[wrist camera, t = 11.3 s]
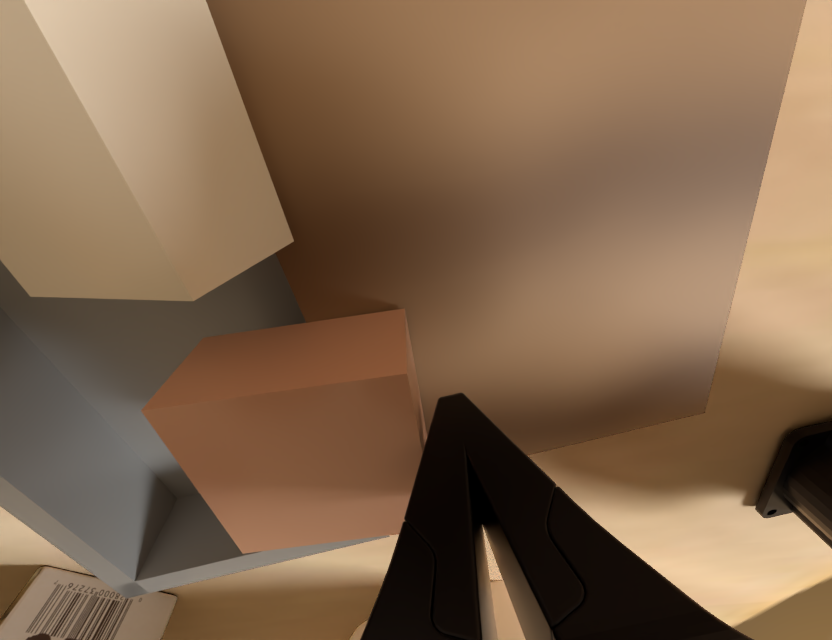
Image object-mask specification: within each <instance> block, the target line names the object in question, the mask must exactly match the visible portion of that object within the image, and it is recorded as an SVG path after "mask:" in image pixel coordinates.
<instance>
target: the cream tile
mask: <svg viewBox="0 0 832 640" xmlns="http://www.w3.org/2000/svg"><path fill="white" fill-rule="evenodd" d="M292 242H294V240H293V237H292V234H291V231H290V229H289V226H288V223H287V221H286V218H285V215H284V212H283V210H282V207H281V204H280V201H279V199H278V196H277V193H276V191H275V188H274V185H273V182H272V180H271V177H270V174H269V171H268V169H267V166H266V163H265V161H264V158H263V155H262V152H261V150H260V147H259V144H258V141H257V139H256V136H255V133H254V131H253V128H252V125H251V122H250V120H249V117H248V114H247V111H246V109H245V106H244V103H243V100H242V98H241V95H240V92H239V90H238V87H237V84H236V81H235V79H234V76H233V73H232V70H231V68H230V65H229V62H228V60H227V57H226V54H225V51H224V49H223V46H222V43H221V40H220V38H219V35H218V32H217V30H216V27H215V24H214V21H213V19H212V16H211V13H210V10H209V8H208V5H207V2H206V0H0V260H1V261H2V263H3V264H4V265H5V266H6V267H7V269H8V270H9V271H10V272H11V274H12V275H13V276H14V277H15V278H16V280H17V281H18V282H19V283H20V285H21V286H22V287H23V288H24V289H25V291H26V292H27V293H28V294H29V296H30V297H61V298H96V299H131V300H166V301H195V300H196V299H198V298H200V297H201V296H203V295H205V294H206V293H208V292H210V291H211V290H213V289H215V288H216V287H218V286H220V285H221V284H223V283H225V282H226V281H228V280H230V279H231V278H233V277H235V276H237V275H238V274H240V273H242V272H243V271H245V270H247V269H248V268H250V267H252V266H253V265H255V264H257V263H258V262H260V261H262V260H263V259H265V258H267V257H268V256H270V255H272V254H274V253H275V252H277V251H279V250H280V249H282V248H284V247H285V246H287V245H289V244H290V243H292Z"/></svg>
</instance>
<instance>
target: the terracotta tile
mask: <svg viewBox="0 0 832 640" xmlns="http://www.w3.org/2000/svg"><path fill="white" fill-rule="evenodd" d="M141 412H142V413H143V414H144V416H145V417H146V419H147V420H148V421H149V423H150V424H151V426H152V427H153V428H154V430H155V431H156V433H157V434H158V435H159V437H160V438H161V440H162V441H163V442H164V444H165V445H166V447H167V448H168V449H169V451H170V452H171V454H172V455H173V456H174V458H175V459H176V461H177V462H178V463H179V465H180V466H181V468H182V469H183V471H184V472H185V473H186V475H187V476H188V478H189V479H190V480H191V482H192V483H193V485H194V486H195V487H196V489H197V490H198V492H199V493H200V494H201V496H202V497H203V499H204V500H205V501H206V503H207V504H208V506H209V507H210V508H211V510H212V511H213V513H214V514H215V515H216V517H217V518H218V520H219V521H220V522H221V524H222V525H223V527H224V528H225V529H226V531H227V532H228V534H229V535H230V536H231V538H232V539H233V541H234V542H235V544H236V545H237V546H238V548H239V549H240V551H241V552H242V553H243V554H244V553H252V552H260V551H268V550H276V549H284V548H292V547H300V546H308V545H316V544H323V543H331V542H339V541H347V540H355V539H363V538H371V537H379V536H387V535H395V534H399V533H400V530H401V526H402V523H403V522H404V521H405V520H404V516H405V513H406V509H407V506H408V502H409V499H410V495H411V492H412V488H413V485H414V481H415V478H416V474H417V471H418V467H419V464H420V460H421V457H422V453H423V450H424V446H425V443H426V439H427V432H426V426H425V421H424V415H423V409H422V404H421V398H420V392H419V387H418V381H417V376H416V370H415V364H414V359H413V353H412V347H411V342H410V336H409V330H408V325H407V319H406V313H405V308H404V309H398V310H391V311H384V312H377V313H370V314H363V315H356V316H349V317H342V318H336V319H329V320H322V321H315V322H309V323H301V324H294V325H287V326H280V327H273V328H267V329H260V330H253V331H246V332H239V333H232V334H225V335H218V336H211V337H205V338H203V339H202V340H201V341H200V342H199V343H198V344H197V346H196V347H195V348H194V349H193V350H192V351H191V353H190V354H189V355H188V356H187V357H186V358H185V360H184V361H183V362H182V363H181V364H180V365H179V367H178V368H177V369H176V370H175V371H174V372H173V374H172V375H171V376H170V377H169V378H168V379H167V381H166V382H165V383H164V384H163V385H162V386H161V388H160V389H159V390H158V391H157V392H156V393H155V395H154V396H153V397H152V398H151V399H150V400H149V402H148V403H147V404H146V405H145V406H144V407H143V409H142V410H141Z"/></svg>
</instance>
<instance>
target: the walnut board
mask: <svg viewBox="0 0 832 640" xmlns="http://www.w3.org/2000/svg"><path fill="white" fill-rule="evenodd" d="M806 1H807V0H206V2H207V5H208V8H209V10H210V13H211V16H212V19H213V21H214V24H215V27H216V30H217V32H218V35H219V38H220V40H221V43H222V46H223V49H224V51H225V54H226V57H227V60H228V62H229V65H230V68H231V70H232V73H233V76H234V79H235V81H236V84H237V87H238V90H239V92H240V95H241V98H242V100H243V103H244V106H245V109H246V111H247V114H248V117H249V120H250V122H251V125H252V128H253V131H254V133H255V136H256V139H257V141H258V144H259V147H260V150H261V152H262V155H263V158H264V161H265V163H266V166H267V169H268V171H269V174H270V177H271V180H272V182H273V185H274V188H275V191H276V193H277V196H278V199H279V201H280V204H281V207H282V210H283V212H284V215H285V218H286V221H287V223H288V226H289V229H290V231H291V234H292V237H293V240H294V242H292V243H290V244H289V245H287V246H285V247H284V248H282V249H280V250H279V251H277V252H275V253H276V256H277V258H278V260H279V262H280V265H281V267H282V269H283V271H284V274H285V276H286V278H287V280H288V283H289V285H290V287H291V289H292V292H293V294H294V296H295V298H296V301H297V303H298V305H299V307H300V310H301V312H302V314H303V316H304V319H305V321H306V323H309V322H315V321H322V320H329V319H336V318H342V317H349V316H356V315H363V314H370V313H377V312H384V311H391V310H398V309H404V308H405V313H406V319H407V325H408V330H409V336H410V342H411V347H412V353H413V359H414V364H415V370H416V376H417V381H418V387H419V392H420V398H421V404H422V409H423V415H424V421H425V426H426V432H427V436H428V432H429V429H430V425H431V422H432V418H433V415H434V411H435V408H436V404H437V401H438V399H439V398H440V397H443V396H447V395H452V394H456V393H464V394H465V395H466V396H467V397H468V398H469V399H470V400H471V401H472V402H473V403H474V404H475V405H476V406H477V407H478V408H479V409H480V410H481V411H482V412H483V413H484V414H485V415H486V416H487V417H488V418H489V419H490V420H491V421H492V422H493V423H494V424H495V425H496V426H497V427H498V428H499V429H500V430H501V431H502V432H503V433H505V434H506V435H507V436H508V437H509V438H510V439H511V440H512V441H513V442H514V443H515V444H516V445H517V446H518V447H519V448H520V449H521V450H522V451H523V452H524V453H525V454H526V455H530V454H535V453H539V452H543V451H547V450H551V449H555V448H560V447H564V446H568V445H572V444H576V443H581V442H585V441H589V440H593V439H597V438H601V437H606V436H610V435H614V434H618V433H622V432H626V431H631V430H635V429H639V428H643V427H647V426H652V425H656V424H660V423H664V422H668V421H672V420H677V419H681V418H685V417H689V416H693V415H697V414H702V413H705V409H706V405H707V401H708V397H709V393H710V389H711V385H712V381H713V377H714V373H715V368H716V364H717V360H718V356H719V352H720V348H721V344H722V340H723V336H724V332H725V328H726V324H727V320H728V316H729V312H730V308H731V304H732V300H733V296H734V292H735V288H736V284H737V280H738V276H739V272H740V268H741V263H742V259H743V255H744V251H745V247H746V243H747V239H748V235H749V231H750V227H751V223H752V219H753V215H754V211H755V207H756V203H757V199H758V195H759V191H760V187H761V183H762V179H763V175H764V171H765V167H766V163H767V158H768V154H769V150H770V146H771V142H772V138H773V134H774V130H775V126H776V122H777V118H778V114H779V110H780V106H781V102H782V98H783V94H784V90H785V86H786V82H787V78H788V74H789V70H790V66H791V62H792V58H793V53H794V49H795V45H796V41H797V37H798V33H799V29H800V25H801V21H802V17H803V13H804V9H805V5H806Z"/></svg>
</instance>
